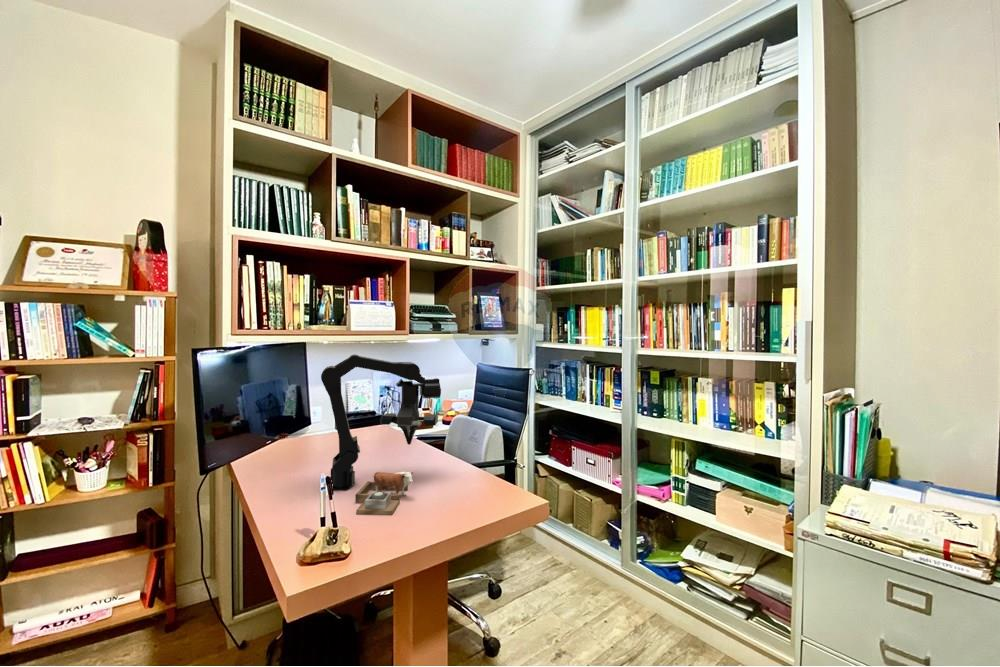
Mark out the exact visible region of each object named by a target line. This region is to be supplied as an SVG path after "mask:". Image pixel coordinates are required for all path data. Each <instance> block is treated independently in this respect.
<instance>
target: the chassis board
mask: <svg viewBox="0 0 1000 667" xmlns="http://www.w3.org/2000/svg"><path fill="white" fill-rule="evenodd" d="M376 484H377V483H376ZM377 486H378V485H377ZM408 490H409V484H407V486H406V487H405V488H404V492H407V491H408ZM370 491H371V492H370ZM372 491H375V492H376V488H375V482H374V481H369V480H368V481H367V482H366V483H364V485H363V486H362V487H361V488H360V489H359V490H358V491H357V492H356V493H355V496H354V497H355V500H354V502H355V504H360V505H359V506H358V507H357V509H356V515H365V516H366V515H368V516H369V515H370V516H371V515H372V516H393V515H394V513H395V512H396V510H397V508H398V507H399V505H400V504H401V494H398V495H396V493H395V494H392V493H391V492H396V488H395V487H392V488H390V489H388V487H386V486H385V485H383V487H382V491H383V492H384V493H385V499H384V500H375V499H372V494H373V493H375V492H372ZM385 491H388V492H385ZM369 492H370V493H369ZM399 492H402V490H399Z"/></svg>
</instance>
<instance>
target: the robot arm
mask: <svg viewBox="0 0 1000 667" xmlns="http://www.w3.org/2000/svg"><path fill="white" fill-rule="evenodd" d="M355 368H360V369H366V370H371V371H377V372H383V373H389V374H392V375H395V376H397V377H399V378H400V379H399V380H398V381H397V382H396V383H395V386H396V387H399V388H401V400H400V401H401V402H400V407H399V410H398V412H397V413H391V412H387V413H384V414H383V415H381V417H380V425H383V426H384V425H387V426H389V425H390V424H392V423H393V422H394V423H396V422H397V425H396V426H397V428H400V429H401V430H402V432H403V434H404V437H405V440H406V442H407V445H411V444H412V442H413V438H414V436H415V433H416V431H417V429H418V428H419V427H420V426H422V423H423V425H425V426H431V427H432V426H436V425H437V424H438V423H439V416H438V415H437V414H435V413H432V414H431V413H427V414H425V415H424V416H420V411H419V404H420V402H419V396H422V398H423V399H439V398H440V399H441V394H442V388H441V383H440V378H436V377H435V378H427V379H426V378H424V377H423V376H422V374H421V370H420V366H418V365H417V364H416V363H414V362H412V361H388V360H383V359H379V358H378V359H377V358H372V357H367V356H363V355H362V356H361V355H358V354H351V355H350V356H349V357H348V358H345V359H344V360H342V361H340V362H339V363H337V364H336V365H330V366H326V367H324V369H323V371H322V372H321V375H320V379H321V382H322V384H323V387H324V388H325V391H326V393H327V394H328V396H329V400H330V405H331V410H332V413H333V417H334V423H335V426H336V431H337V435H338V453H337V454H336V455H335V456H334V457H333V458H332V465H331V466H332V467H331V468H330V481H331V480H332V484H333V490H334V491H335V490H336V491H348V490H350V489H351V488H352V487H353V486H354V484H356V476H355V474H356V472H355V470H354V465H353V464H355V463H356V462H358V460H359V453H361V448H360V444H358V436H357V435H355V436H353V435H352V433H351V430H350V425H349V421H348V417H347V412H346V409H345V404H344V398H343V394H342V377H343V376H345V375H347V374H348V373H350V372H351V371H352V370H354V369H355ZM402 378H403V379H406V381H405V380H403V379H402ZM413 381H415V382H417V383H413ZM333 490H332V491H333Z"/></svg>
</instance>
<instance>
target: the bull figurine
mask: <svg viewBox="0 0 1000 667" xmlns="http://www.w3.org/2000/svg"><path fill="white" fill-rule="evenodd" d="M413 474H414V472H413V471H411V472H410V471H407V472H406V471H399V472H387V471H376V472H375V473H374V475H373V482H375V488H376V490H375V492H384V491H382V487H383V485H385V486H386V487H388V489H390V488H392V487H395V488H396V491H395V495H399V492H400V491H399V490H402V491H401V496H403V497H405V496H407V494H406V491H404V488H405V487H406V486H407V484H408V485H409V484H413V483H414V480H413V478H412V477H413ZM376 483H377V484H376ZM377 485H378V486H377Z"/></svg>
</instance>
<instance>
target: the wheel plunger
mask: <svg viewBox="0 0 1000 667" xmlns="http://www.w3.org/2000/svg"><path fill="white" fill-rule="evenodd" d="M385 493H386V492H385V491H383V492H377V491H375V493H373V494H372V499H375V500H384V499H385Z"/></svg>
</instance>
